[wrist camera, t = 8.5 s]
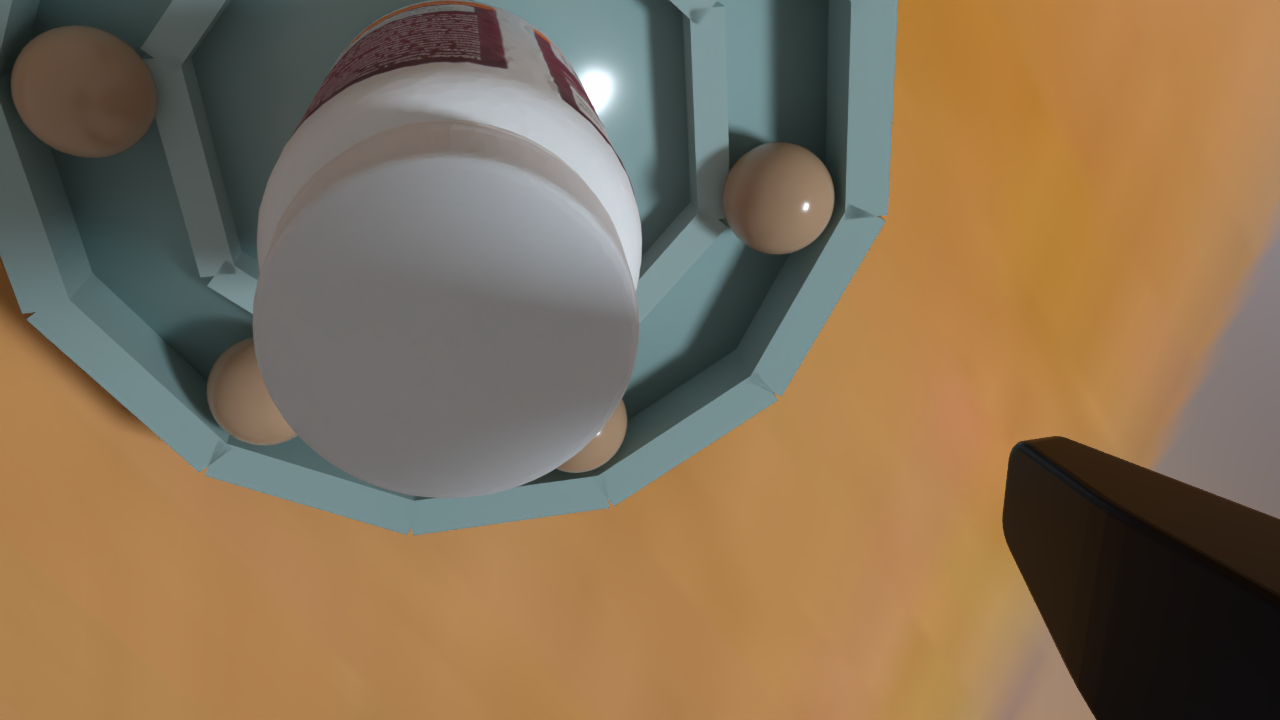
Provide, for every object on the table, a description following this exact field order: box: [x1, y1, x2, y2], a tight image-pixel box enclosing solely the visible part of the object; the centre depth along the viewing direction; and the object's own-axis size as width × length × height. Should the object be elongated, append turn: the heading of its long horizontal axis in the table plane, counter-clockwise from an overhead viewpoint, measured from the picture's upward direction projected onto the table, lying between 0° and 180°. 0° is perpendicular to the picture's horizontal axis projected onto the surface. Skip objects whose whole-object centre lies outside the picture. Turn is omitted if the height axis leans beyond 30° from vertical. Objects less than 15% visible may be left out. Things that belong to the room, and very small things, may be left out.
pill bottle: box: [253, 0, 642, 499], centre depth 14 cm, size 5×5×8 cm
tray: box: [0, 0, 898, 535], centre depth 17 cm, size 15×15×3 cm
